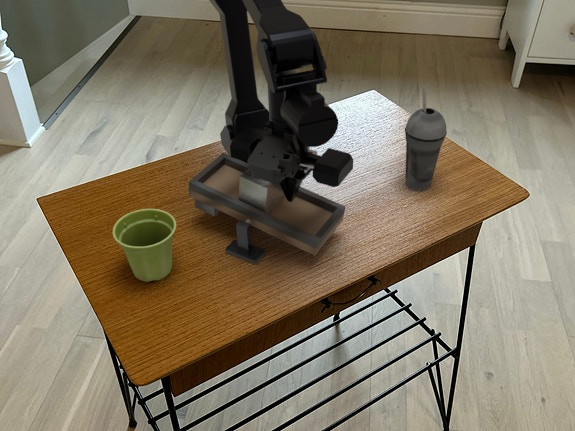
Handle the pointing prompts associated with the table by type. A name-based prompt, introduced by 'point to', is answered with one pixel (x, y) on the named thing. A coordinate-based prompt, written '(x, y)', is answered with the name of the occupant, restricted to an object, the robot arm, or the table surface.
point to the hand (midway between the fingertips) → (290, 200)
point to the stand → (245, 245)
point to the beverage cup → (423, 145)
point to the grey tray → (284, 215)
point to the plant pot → (147, 242)
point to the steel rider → (259, 192)
